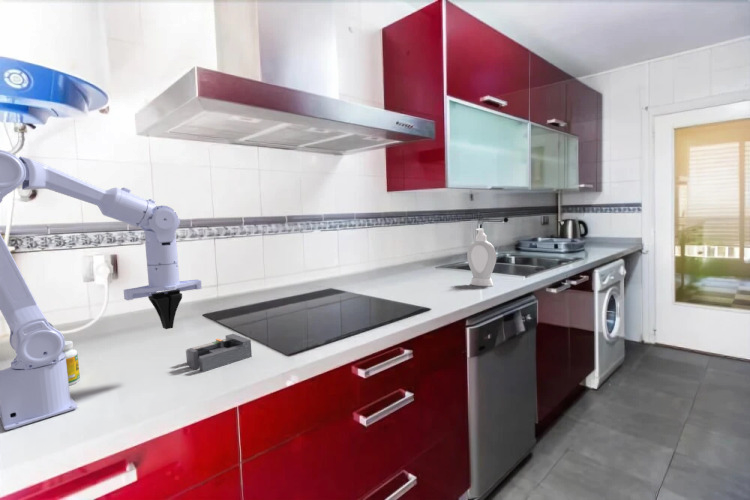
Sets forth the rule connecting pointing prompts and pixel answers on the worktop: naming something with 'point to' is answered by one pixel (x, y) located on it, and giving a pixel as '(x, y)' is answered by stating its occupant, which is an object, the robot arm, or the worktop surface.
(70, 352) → the supplement bottle
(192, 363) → the grey hook
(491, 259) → the soap bottle
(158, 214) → the robot arm
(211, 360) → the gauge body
